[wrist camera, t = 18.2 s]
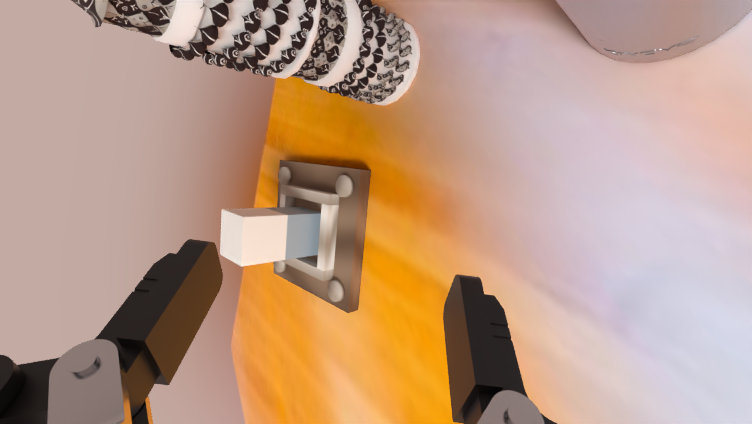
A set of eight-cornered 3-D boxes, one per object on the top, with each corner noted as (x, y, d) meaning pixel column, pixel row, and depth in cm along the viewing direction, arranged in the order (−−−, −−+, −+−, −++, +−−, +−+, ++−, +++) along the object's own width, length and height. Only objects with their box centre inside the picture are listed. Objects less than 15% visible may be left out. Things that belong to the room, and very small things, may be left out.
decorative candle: (441, 50, 31) (78, -145, 13) (383, 128, 37) (64, 62, 19) (392, -4, 35) (56, -215, 17) (345, 73, 40) (49, -26, 22)
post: (300, 206, 45) (221, 209, 38) (324, 213, 41) (243, 217, 34) (297, 244, 46) (220, 254, 38) (321, 254, 42) (241, 266, 35)
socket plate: (289, 160, 49) (270, 159, 47) (370, 170, 38) (350, 168, 36) (282, 271, 51) (263, 274, 49) (357, 309, 40) (337, 316, 38)
